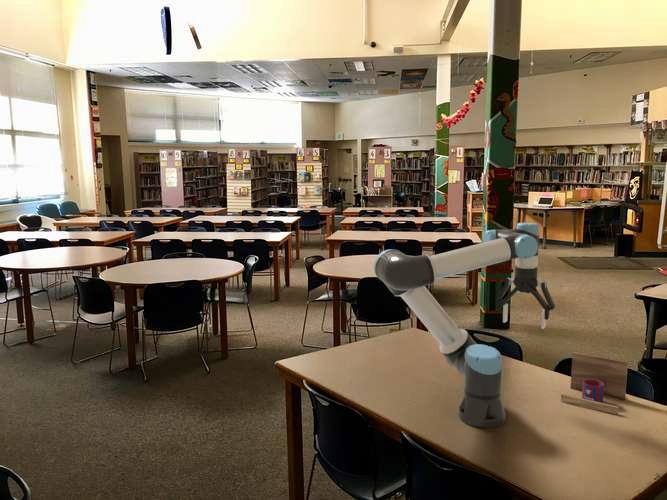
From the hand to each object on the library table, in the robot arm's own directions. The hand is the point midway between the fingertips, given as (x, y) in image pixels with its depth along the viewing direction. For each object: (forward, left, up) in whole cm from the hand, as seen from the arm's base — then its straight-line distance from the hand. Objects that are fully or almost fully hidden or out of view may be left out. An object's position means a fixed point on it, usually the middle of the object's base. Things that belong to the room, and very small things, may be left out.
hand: (523, 324), depth 187 cm
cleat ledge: (+4, -22, -27) cm, 35 cm away
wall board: (+18, -22, -27) cm, 39 cm away
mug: (+12, -22, -27) cm, 37 cm away
